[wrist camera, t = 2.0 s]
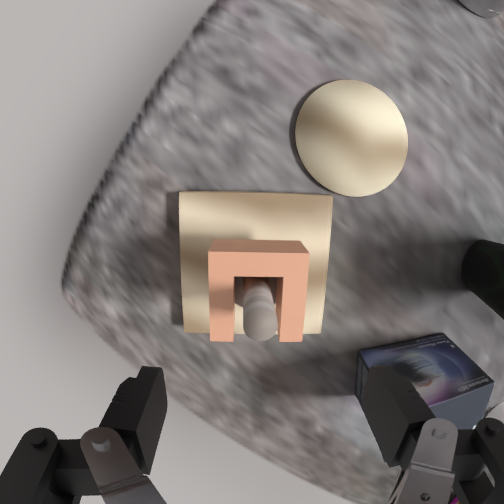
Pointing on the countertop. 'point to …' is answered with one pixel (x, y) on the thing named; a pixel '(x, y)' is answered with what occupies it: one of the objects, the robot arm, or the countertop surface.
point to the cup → (486, 273)
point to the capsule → (497, 413)
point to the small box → (434, 377)
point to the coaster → (351, 138)
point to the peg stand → (254, 228)
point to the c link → (258, 265)
